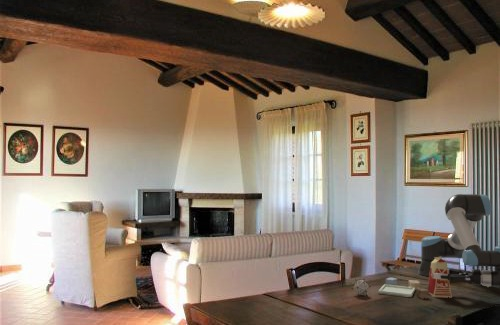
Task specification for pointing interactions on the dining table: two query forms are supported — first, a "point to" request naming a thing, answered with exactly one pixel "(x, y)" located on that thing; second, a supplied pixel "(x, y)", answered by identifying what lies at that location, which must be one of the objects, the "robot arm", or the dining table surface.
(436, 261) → the milk carton
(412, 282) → the maple brick
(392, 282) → the slate-blue brick
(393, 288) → the tray
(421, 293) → the walnut brick
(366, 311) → the dining table surface
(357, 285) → the game die
